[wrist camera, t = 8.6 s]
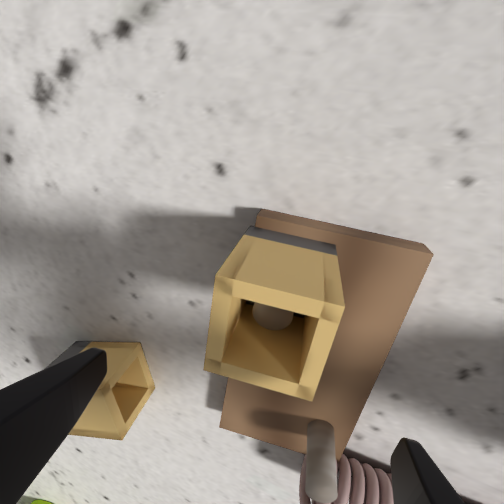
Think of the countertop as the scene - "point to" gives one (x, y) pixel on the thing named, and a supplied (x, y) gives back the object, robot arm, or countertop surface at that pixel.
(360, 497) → the coil
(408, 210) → the countertop surface
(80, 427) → the tan angular part
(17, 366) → the countertop surface
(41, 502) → the soap dispenser
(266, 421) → the pin board
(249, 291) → the loose sleeve
